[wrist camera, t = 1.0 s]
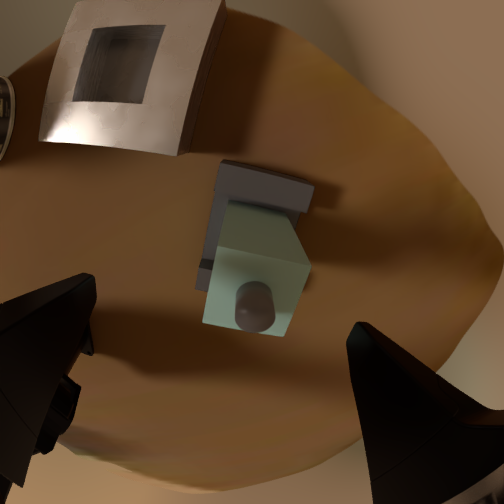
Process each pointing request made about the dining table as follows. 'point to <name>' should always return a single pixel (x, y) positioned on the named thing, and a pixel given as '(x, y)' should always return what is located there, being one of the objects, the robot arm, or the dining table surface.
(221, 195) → the dark grey bracket
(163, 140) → the port
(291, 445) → the dining table surface
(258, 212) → the plug
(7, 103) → the coffee can
